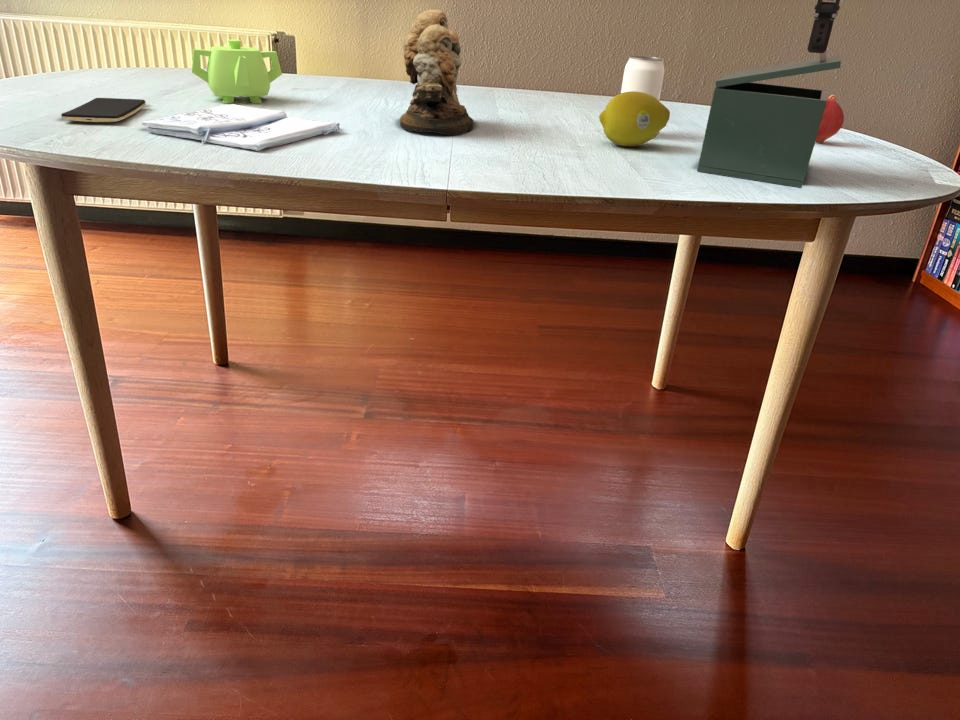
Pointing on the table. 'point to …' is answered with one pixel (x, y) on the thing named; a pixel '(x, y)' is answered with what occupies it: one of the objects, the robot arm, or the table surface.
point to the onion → (830, 120)
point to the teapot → (237, 71)
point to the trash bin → (762, 132)
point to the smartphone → (104, 110)
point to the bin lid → (781, 70)
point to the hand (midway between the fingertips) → (816, 50)
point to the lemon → (633, 118)
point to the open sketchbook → (240, 127)
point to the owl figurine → (434, 77)
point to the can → (643, 75)
